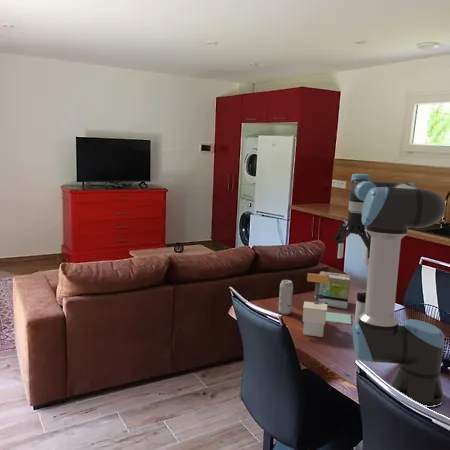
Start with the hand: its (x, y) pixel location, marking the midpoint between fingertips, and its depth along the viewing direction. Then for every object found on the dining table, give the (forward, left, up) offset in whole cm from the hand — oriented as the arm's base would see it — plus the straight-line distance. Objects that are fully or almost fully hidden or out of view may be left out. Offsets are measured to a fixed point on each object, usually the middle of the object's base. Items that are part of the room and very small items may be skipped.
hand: (353, 261), depth 188 cm
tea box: (+28, +7, -29) cm, 41 cm away
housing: (-6, +14, -29) cm, 33 cm away
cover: (-12, +14, -23) cm, 29 cm away
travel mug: (-12, -5, -29) cm, 32 cm away
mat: (+9, +4, -29) cm, 31 cm away
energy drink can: (+8, +28, -29) cm, 41 cm away
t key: (-4, +14, -23) cm, 27 cm away
